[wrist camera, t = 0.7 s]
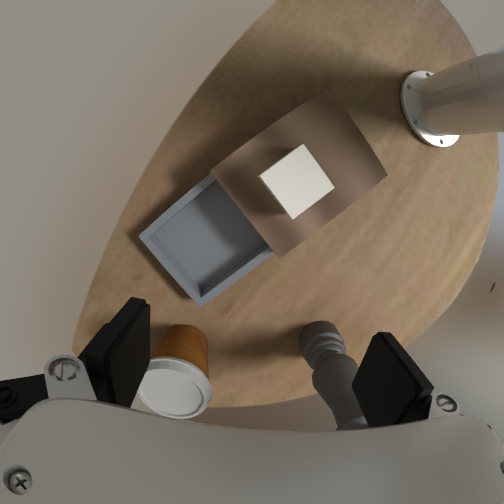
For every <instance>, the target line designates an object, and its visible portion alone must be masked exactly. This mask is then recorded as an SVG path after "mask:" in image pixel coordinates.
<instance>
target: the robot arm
mask: <svg viewBox="0 0 504 504" xmlns="http://www.w3.org/2000/svg"><path fill="white" fill-rule="evenodd" d="M400 98H401V105H402V109H403V112H404V115H405V117H406V120H407V122H408V123H409V125H410V127H411V128H412V130H413V131H414V132H415V134H416V135H417V136H418V137H419V138H420V139H421V140H423V141H424V142H425V143H427V144H429V145H431V146H434V147H448V146H450V145H452V144H453V143H454V142H455V141H456V140H457V139H458V137H459V135H468V134H480V133H494V132H504V47H502V48H500V49H497V50H495V51H492V52H489V53H486V54H483V55H481V56H479V57H476V58H473V59H470V60H468V61H465V62H462V63H460V64H457V65H455V66H452V67H450V68H448V69H445V70H443V71H440V72H438V73H436V74H434V73H431V72H429V71H424V70H420V71H415V72H413V73H411V74H410V75H408V76H407V77H406V78H405V79H404V81H403V83H402V87H401V95H400ZM149 363H150V305H149V304H146V300H144V299H140V298H135V297H131V298H130V299H129V300H128V301H127V303H126V304H125V305H124V306H123V307H122V308H121V310H120V311H119V312H118V313H117V314H116V316H115V317H114V318H113V319H112V320H111V322H110V323H106V324H105V325H104V326H103V327H102V328H101V329H100V330H99V332H98V333H97V334H96V335H95V336H94V338H93V339H92V340H91V341H90V342H89V344H88V345H87V346H86V347H85V349H84V350H83V351H82V352H81V354H80V355H79V356H78V357H77V358H76V357H74V356H71V355H59V356H55V357H53V358H51V359H50V360H49V361H48V362H47V363H46V365H45V367H44V374H40V375H34V376H29V377H23V378H16V379H10V380H3V381H0V504H504V443H503V442H501V441H500V440H499V439H498V437H497V436H496V435H495V433H494V432H493V431H492V429H491V427H490V426H489V425H487V424H486V423H484V422H483V421H482V420H480V419H478V418H475V417H471V416H464V415H461V414H460V404H459V402H458V401H457V400H456V399H455V398H454V397H453V396H451V395H450V394H448V393H444V392H438V393H435V394H434V395H433V397H432V396H431V395H430V394H431V392H432V391H433V389H434V387H433V385H432V384H431V383H430V381H429V380H428V379H427V378H426V377H425V375H424V374H423V372H422V371H421V370H420V368H419V367H418V366H417V365H416V363H415V362H414V361H413V360H412V358H411V357H410V356H409V355H408V353H407V352H406V351H405V350H404V348H403V347H402V346H401V345H400V343H399V342H398V341H397V340H396V338H395V337H394V336H393V335H392V334H391V333H390V332H378V333H377V334H376V335H374V336H373V337H372V339H371V342H370V344H369V346H368V349H367V351H366V353H365V356H364V358H363V360H362V362H361V364H360V367H359V369H358V371H357V373H356V375H355V377H354V379H353V381H352V390H353V392H354V394H355V396H356V399H357V401H358V403H359V405H360V408H361V410H362V412H363V415H364V417H365V419H366V421H367V424H368V426H369V428H363V429H351V430H334V431H274V430H273V431H272V430H257V429H245V428H234V427H226V426H218V425H211V424H204V423H198V422H192V421H186V420H181V419H176V418H171V417H167V416H162V415H158V414H153V413H149V412H144V411H140V410H136V409H131V408H130V407H131V404H132V402H133V400H134V398H135V395H136V393H137V391H138V389H139V386H140V384H141V382H142V380H143V377H144V375H145V373H146V371H147V369H148V366H149Z"/></svg>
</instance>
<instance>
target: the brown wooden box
mask: <svg viewBox="0 0 504 504" xmlns="http://www.w3.org/2000/svg"><path fill="white" fill-rule="evenodd" d="M302 144H304V145H305V147H306V148H307V149H308V151H309V152H310V154H311V155H312V156H313V158H314V159H315V160H316V162H317V163H318V164H319V166H320V167H321V169H322V170H323V172H324V173H325V174H326V176H327V177H328V179H329V180H330V182H331V183H332V184H333V186H334V187H335V188H334V189H333V190H331V191H330V192H329V193H327V194H326V195H325V196H323V197H322V198H321V199H319V200H318V201H317V202H315V203H314V204H313V205H311V206H310V207H309V208H307V209H306V210H305V211H303V212H302V213H301V214H300V215H298V216H297V217H296V218H294V219H292V218H290V217H289V216H288V215H287V214H286V213H285V212H284V211H283V209H282V208H281V207H280V205H279V204H278V203H277V201H276V200H275V199H274V197H273V196H272V195H271V193H270V192H269V191H268V190H267V188H266V187H265V186H264V184H263V183H262V182H261V180H260V179H259V178H258V177H257V176H258V175H260V174H261V173H262V172H264V171H265V170H266V169H268V168H269V167H270V166H272V165H273V164H274V163H276V162H277V161H278V160H280V159H281V158H282V157H284V156H285V155H287V154H288V153H289V152H291V151H292V150H294V149H295V148H297V147H298V146H300V145H302ZM210 172H211V173H212V175H213V176H214V177H215V178H216V180H217V181H218V182H219V183H220V185H221V186H222V187H223V188H224V190H225V191H226V192H227V193H228V195H229V196H230V197H231V198H232V200H233V201H234V202H235V203H236V205H237V206H238V207H239V208H240V210H241V211H242V212H243V213H244V215H245V216H246V217H247V218H248V220H249V221H250V222H251V223H252V225H253V226H254V227H255V229H256V230H257V231H258V232H259V234H260V235H261V236H262V237H263V239H264V240H265V241H266V243H267V244H268V245H269V246H270V248H271V249H272V250H273V251H274V253H275V254H276V255H277V257H278V258H279V259H280V258H281V257H282V256H284V255H285V254H286V253H288V252H289V251H290V250H292V249H293V248H294V247H296V246H297V245H298V244H300V243H301V242H302V241H304V240H305V239H306V238H308V237H309V236H310V235H312V234H313V233H314V232H316V231H317V230H318V229H320V228H321V227H322V226H323V225H325V224H326V223H327V222H329V221H330V220H331V219H333V218H334V217H335V216H336V215H338V214H339V213H340V212H342V211H343V210H344V209H346V208H347V207H348V206H349V205H351V204H352V203H353V202H355V201H356V200H357V199H358V198H360V197H361V196H362V195H363V194H365V193H366V192H367V191H369V190H370V189H371V188H372V187H374V186H375V185H376V184H377V183H379V182H380V181H381V180H382V179H384V178H385V177H386V176H388V174H387V173H386V171H385V169H384V168H383V166H382V164H381V163H380V161H379V159H378V158H377V156H376V155H375V153H374V151H373V150H372V148H371V147H370V145H369V144H368V142H367V141H366V139H365V138H364V136H363V135H362V133H361V132H360V130H359V129H358V127H357V126H356V125H355V123H354V122H353V120H352V119H351V118H350V116H349V115H348V113H347V112H346V111H345V109H344V108H343V107H342V105H341V104H340V103H339V101H338V100H337V99H336V98H335V96H334V95H333V94H332V93H331V91H330V90H329V89H328V88H327V89H325V90H323V91H322V92H320V93H319V94H317V95H315V96H314V97H312V98H311V99H309V100H307V101H306V102H304V103H303V104H301V105H300V106H298V107H297V108H295V109H294V110H292V111H291V112H289V113H288V114H286V115H285V116H283V117H282V118H280V119H279V120H277V121H276V122H274V123H273V124H272V125H270V126H269V127H267V128H266V129H264V130H263V131H262V132H260V133H259V134H257V135H256V136H255V137H253V138H252V139H251V140H249V141H248V142H246V143H245V144H244V145H242V146H241V147H240V148H238V149H237V150H236V151H234V152H233V153H232V154H231V155H229V156H228V157H227V158H225V159H224V160H223V161H221V162H220V163H219V164H218V165H216V166H215V167H214V168H213V169H211V170H210Z"/></svg>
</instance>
